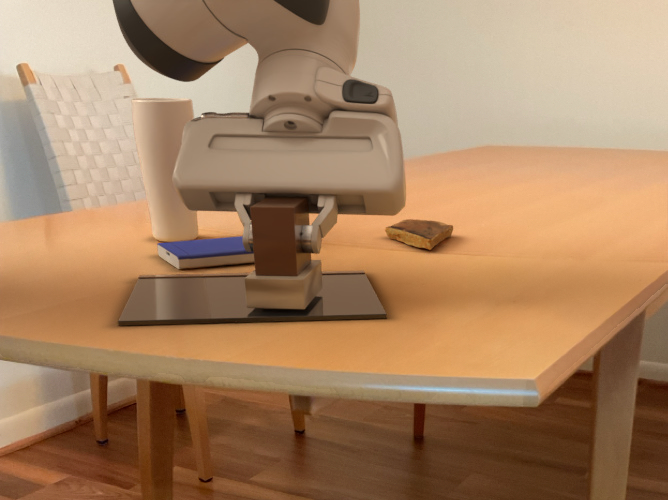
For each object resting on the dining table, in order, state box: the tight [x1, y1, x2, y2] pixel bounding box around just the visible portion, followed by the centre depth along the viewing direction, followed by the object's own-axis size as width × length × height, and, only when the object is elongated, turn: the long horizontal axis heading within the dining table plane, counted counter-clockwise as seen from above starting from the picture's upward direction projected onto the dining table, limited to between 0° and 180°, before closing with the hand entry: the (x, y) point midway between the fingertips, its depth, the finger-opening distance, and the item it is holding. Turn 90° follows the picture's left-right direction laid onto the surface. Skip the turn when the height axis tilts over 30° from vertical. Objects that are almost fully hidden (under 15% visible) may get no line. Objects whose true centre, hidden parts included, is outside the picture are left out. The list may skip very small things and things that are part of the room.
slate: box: [117, 270, 388, 327], centre depth 83 cm, size 22×17×1 cm
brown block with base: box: [244, 196, 323, 309], centre depth 78 cm, size 8×5×8 cm, turn 174°
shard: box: [384, 218, 454, 251], centre depth 108 cm, size 11×8×2 cm
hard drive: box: [156, 235, 255, 270], centre depth 99 cm, size 2×8×12 cm
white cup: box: [130, 97, 199, 243], centre depth 105 cm, size 7×7×15 cm
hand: (281, 248), depth 78 cm, fingers closed on brown block with base, 3 cm apart
